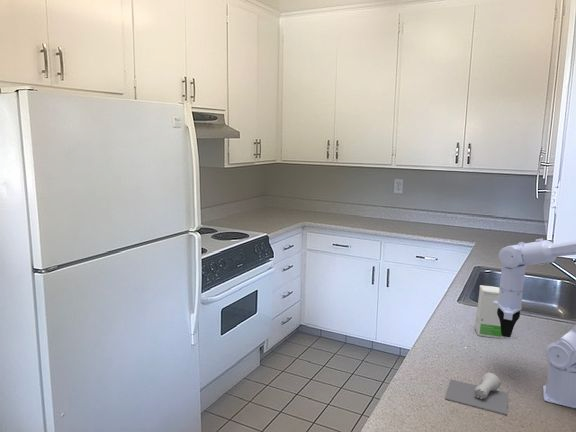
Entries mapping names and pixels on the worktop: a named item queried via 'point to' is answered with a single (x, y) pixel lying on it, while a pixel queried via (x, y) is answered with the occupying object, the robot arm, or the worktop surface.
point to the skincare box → (488, 313)
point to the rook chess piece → (487, 385)
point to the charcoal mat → (465, 395)
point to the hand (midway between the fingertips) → (505, 335)
